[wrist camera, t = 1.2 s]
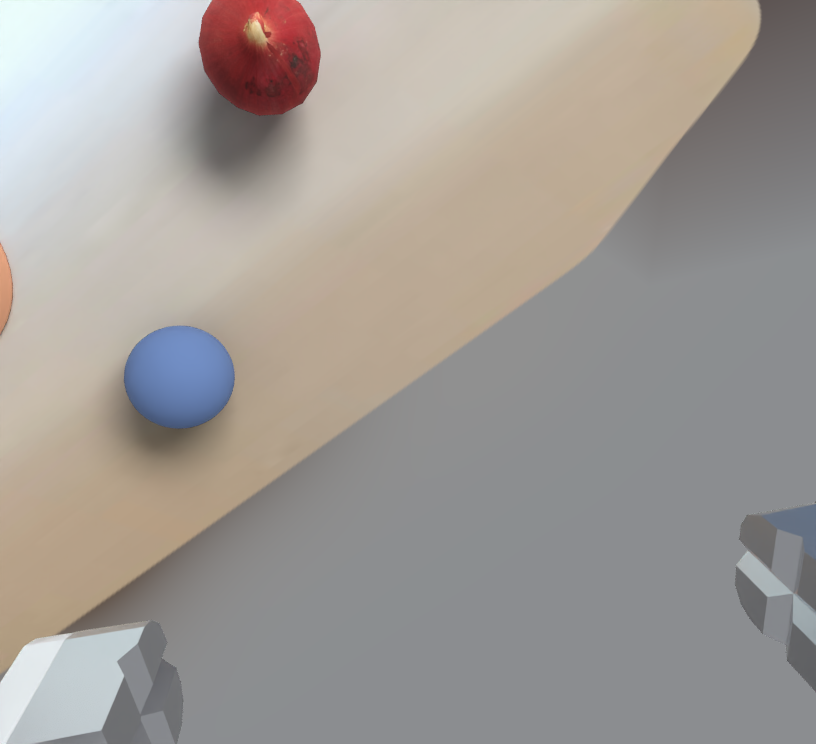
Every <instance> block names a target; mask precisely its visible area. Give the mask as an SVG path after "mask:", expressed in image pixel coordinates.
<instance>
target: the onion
mask: <svg viewBox="0 0 816 744" xmlns="http://www.w3.org/2000/svg"><path fill="white" fill-rule="evenodd" d="M199 48H200V52H201V57H202V62H203V66H204V71H205V73H206V74H207V76H208V77H209V79H210V80H211V82H212V83H213V85H214V86H215V88H216V89H217V91H218V92H219V94H221V95H222V96H223V97H224V98H226V99H227V100H228V101H230V102H231V103H232V104H234V105H235V106H236V107H238V108H240V109H243V110H245V111H248V112H251V113H254V114H256V115H275V114H283V113H285V112H287V111H288V110H290V109H292V108H294V107H296V106H298V105H300V104H302V103H303V102H304V100H305V99H306V97H307V96H308V94H309V93H310V91H311V90H312V88H313V87H314V85H315V84H316V82H317V77H318V70H319V63H320V56H321V52H320V48H319V43H318V39H317V35H316V31H315V27H314V25H313V23H312V22H311V20H310V18H309V17H308V15H307V13H306V12H305V10H304V8H303V7H302V5H301V4H300V3H299V2H298V1H296V0H212V2H211V3H210V5H209V7H208V8H207V10H206V12H205V13H204V15H203V17H202V24H201V31H200V37H199Z"/></svg>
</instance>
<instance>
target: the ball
mask: <svg viewBox="0 0 816 744" xmlns="http://www.w3.org/2000/svg"><path fill="white" fill-rule="evenodd" d="M234 380H235V377H234V367H233V363H232V360H231V358H230V356H229V354H228V352H227V350H226V349H225V347H224V346H223V345H222V344H221V343H220V342H219V341H218V340H217V339H216V338H215V337H213V336H212V335H210V334H209V333H207V332H205V331H203V330H200V329H197V328H194V327H189V326H170V327H166V328H162V329H159V330H157V331H154V332H152V333H150V334H149V335H147V336H146V337H144V338H143V339H142V340H141V341H140V342H139V343H138V344H137V345H136V346H135V347H134V349H133V350H132V352H131V354H130V355H129V357H128V360H127V362H126V366H125V372H124V383H125V388H126V392H127V395H128V397H129V399H130V401H131V403H132V404H133V406H134V407H135V408H136V410H137V411H138V412H139V413H140V414H141V415H143V416H144V417H145V418H147V419H148V420H150V421H152V422H154V423H156V424H158V425H161V426H164V427H169V428H190V427H194V426H198V425H200V424H203V423H205V422H207V421H209V420H210V419H212V418H213V417H215V416H216V415H217V414H218V413H219V412H220V411H221V410H222V409H223V408H224V406H225V405H226V404H227V402H228V400H229V398H230V396H231V394H232V391H233V387H234Z"/></svg>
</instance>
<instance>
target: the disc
mask: <svg viewBox="0 0 816 744" xmlns="http://www.w3.org/2000/svg"><path fill="white" fill-rule="evenodd" d="M12 298H13V283H12V276H11V270H10V266H9V263H8V260H7V257H6V254H5V252H4V250H3V247H2V245H1V243H0V334H1V332H2V330H3V328H4V326H5V324H6V322H7V320H8V317H9V313H10V310H11V304H12Z"/></svg>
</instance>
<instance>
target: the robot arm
mask: <svg viewBox="0 0 816 744" xmlns="http://www.w3.org/2000/svg"><path fill="white" fill-rule="evenodd" d="M739 540H740V541H741V542H742V544H743V545H744V546H745V547H746V548H747V550H748V551H747V552H746V553H745V555H744V556H743V557H742V559H741V560H740V561H739V563H738V564H737V565H736V578H735V586H736V589H737V593H738V596H739V599H740V603H741V605H742V607H743V608H744V610H745V612H746V614H747V615H748V617H749V619H750V620H751V621H752V622H753V623H754V625H755V626H756V627H757V628H758V629H759V630H760V631H761V633H762V634H764V635H766V636H768V637H770V638H772V639H774V640H776V641H778V642H781V643H783V644H785V645H786V655H787V661H788V662H789V663H790V664H791V666H792V667H793V668H794V669H795V670H796V671H797V672H798V673H799V674H800V675H801V676H802V678H803V679H804V680H805V681H806V682H807V683H808V684H809V685H810V686H811V687H812V688H813V690H814V691H815V692H816V502H814V503H811V504H805V505H799V506H794V507H788V508H783V509H778V510H772V511H766V512H761V513H756V514H751V515H747V516H746V518H745V519H744V521H743V522H742V524H741V529H740V537H739ZM166 645H167V640H166V638H165V635H164V633H163V630H162V628H161V625H160V623H158V622H155V621H153V620H149V621H143V622H136V623H129V624H123V625H116V626H110V627H103V628H97V629H90V630H84V631H77V632H75V633H69V634H62V635H56V636H49V637H43V638H36V639H34V640H33V641H31V642H30V643H28V644H27V645H25V646H24V647H23V649H22V650H21V651H20V653H19V655H18V656H17V658H16V659H15V661H14V662H13V664H12V665H11V667H10V668H9V670H8V672H7V673H6V675H5V676H4V678H3V679H2V681H1V682H0V744H177V741H178V738H179V734H180V730H181V726H182V713H183V695H182V686H181V681H180V678H179V675H178V672H177V669H176V667H174V666H173V665H171V664H170V663H168V662H166V661H165V660H164V659H162V657H163V653H164V651H165V648H166Z"/></svg>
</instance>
